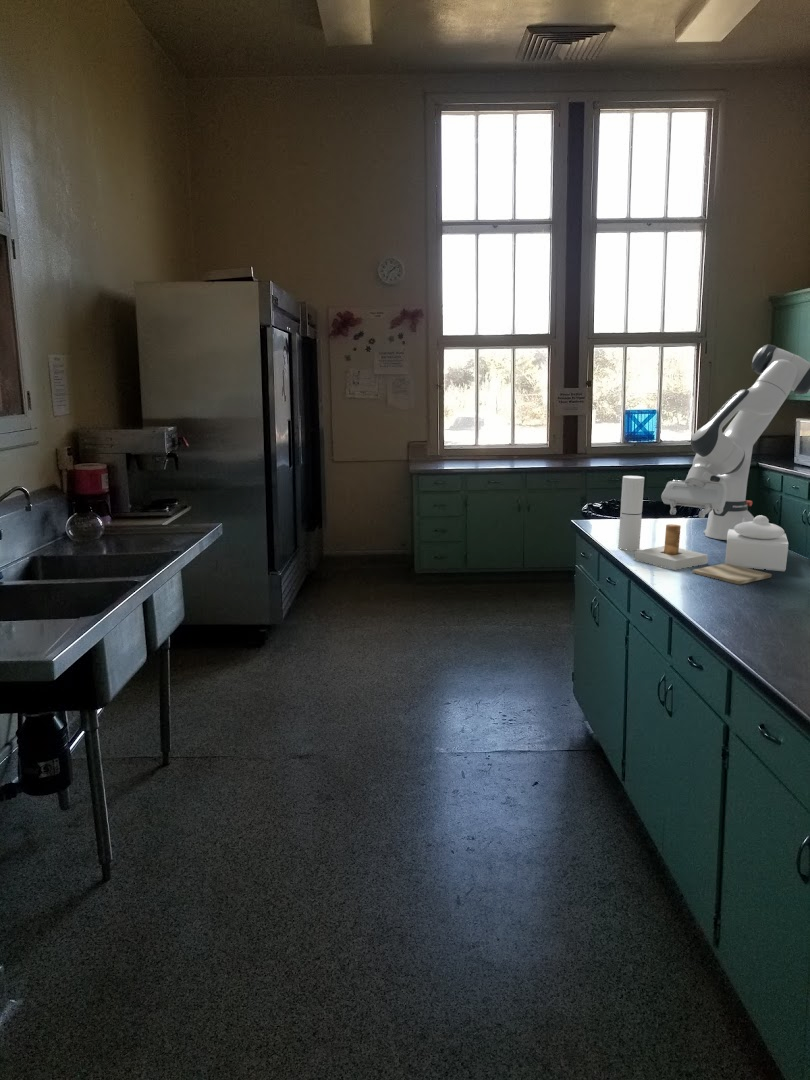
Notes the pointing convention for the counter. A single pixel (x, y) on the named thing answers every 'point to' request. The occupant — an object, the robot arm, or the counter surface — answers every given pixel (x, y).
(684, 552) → the socket block
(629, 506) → the cylindrical container
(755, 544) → the butter dish
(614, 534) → the counter surface
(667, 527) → the plug
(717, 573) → the board
